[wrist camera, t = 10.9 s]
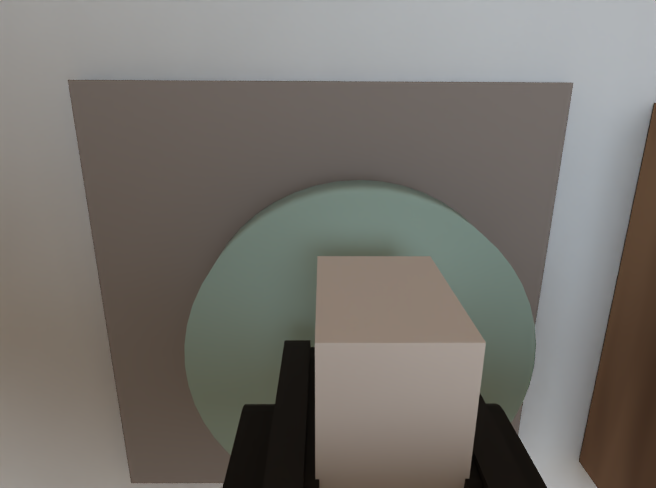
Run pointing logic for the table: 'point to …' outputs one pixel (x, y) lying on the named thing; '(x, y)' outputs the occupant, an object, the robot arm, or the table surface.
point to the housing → (629, 355)
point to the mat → (272, 185)
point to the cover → (365, 330)
